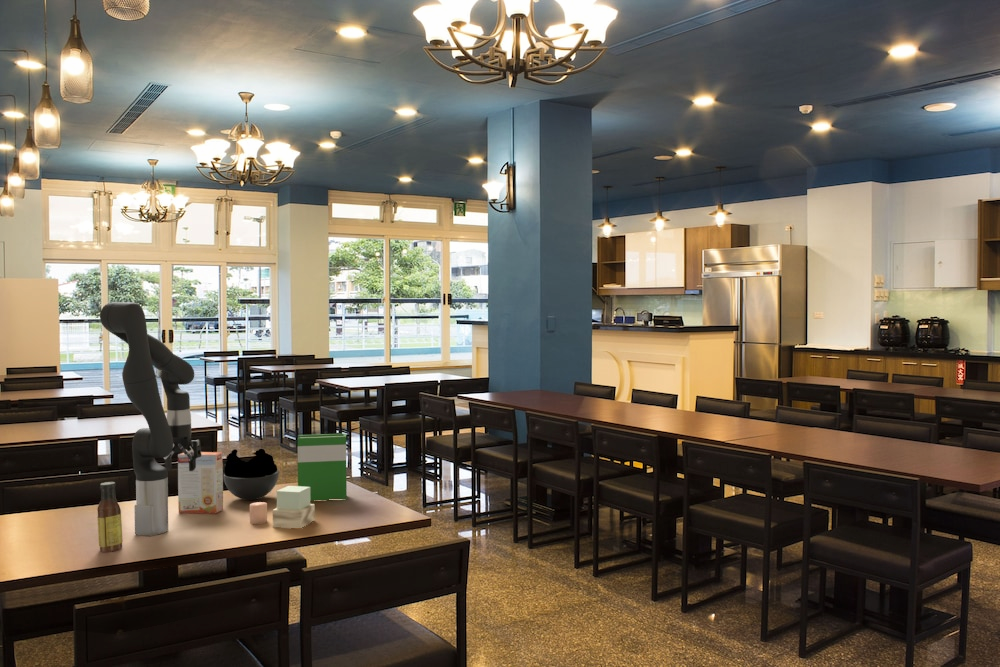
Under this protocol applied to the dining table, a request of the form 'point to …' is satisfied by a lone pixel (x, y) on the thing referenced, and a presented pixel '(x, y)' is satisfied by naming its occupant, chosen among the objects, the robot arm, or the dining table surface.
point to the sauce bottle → (109, 519)
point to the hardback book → (323, 465)
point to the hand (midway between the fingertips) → (180, 470)
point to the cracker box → (201, 484)
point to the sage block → (293, 498)
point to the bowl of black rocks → (250, 475)
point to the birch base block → (293, 517)
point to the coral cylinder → (258, 512)
